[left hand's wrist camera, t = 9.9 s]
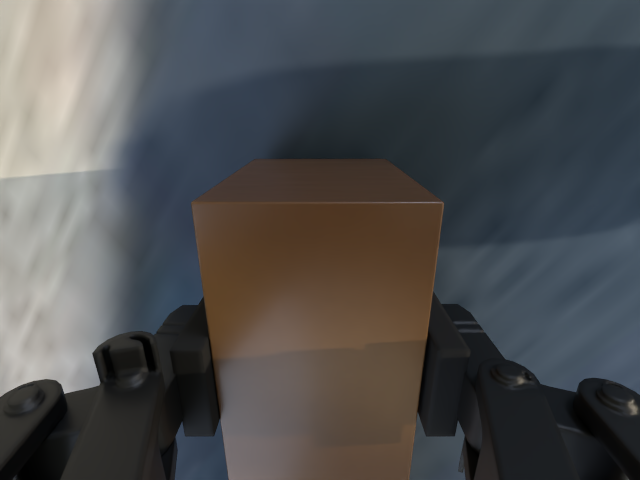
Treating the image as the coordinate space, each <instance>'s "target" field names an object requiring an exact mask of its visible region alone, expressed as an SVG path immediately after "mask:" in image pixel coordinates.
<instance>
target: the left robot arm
mask: <svg viewBox="0 0 640 480" xmlns="http://www.w3.org/2000/svg"><path fill="white" fill-rule="evenodd" d="M92 354H93V357H94V361H95V364H96V368H97V372H98V375H99V379H100V382H101V383H100V385H99V386H96V387H93V388H89V389H84V390H80V391H75V392H71V393H66V394H64V392H63V389H62V386H61V384H60V383H58V382H57V381H56V380H48V379H45V380H38V381H33V382H30V383H27V384H23V385H21V386H18V387H17V388H15V389H13V390H11V391H9V392H7V393H5V394H4V395H3V396H1V397H0V480H174V479H175V470H176V460H177V451H178V450H177V443H176V438H175V436H176V434H177V431H178V429H179V427H180V425H181V422H183V427H184V433H185V436H214V435H215V432H216V429H217V425H218V422H219V419H220V413H219V405H218V398H217V391H216V383H215V376H214V369H213V361H212V354H211V346H210V339H209V332H208V324H207V317H206V310H205V302H204V297H203V298H202V300H201V301H200V303H199V305H182V306H181V307H179V308H178V309H176V310H175V311H173V312H172V313H170V315H169V316H168V317H167V319H166V320H165V321H164V323H163V325H161V327H160V328H159V329H158V331H157V334H155V335H154V336H153V335H152V334H151V333H148V332H143V331H136V332H128V333H124V334H120V335H117V336H115V337H113V338H111V339H108V340H107V341H105V342H104V343H102V344H101V345H99V346H98V347H97V349H96V350H95V351H94V352H93V353H92ZM418 413H419V416H420V419H421V422H422V426H423V429H424V432H425V435H426V436H455V433H456V427H457V422H458V421H459V423H460V425H461V427H462V430H463V432H464V434H465V438H464V443H463V448H462V453H461V458H460V463H459V469H458V471H459V472H463V469H465V478H466V480H640V395H639V394H637V393H636V392H635V391H633V390H631V389H629V388H627V387H625V386H623V385H621V384H618V383H616V382H613V381H609V380H606V379H599V378H588V379H584V380H583V381H581V382H580V383H579V386H578V389H577V392H572V391H567V390H563V389H558V388H554V387H549V386H545V385H542V384H540V382H539V381H538V379H537V378H536V377H535V375H534V374H533V373H532V372H530V371H529V370H528V369H527V368H525V367H523V366H521V365H519V364H517V363H515V362H513V361H509V360H506V359H504V357H503V356H502V355H501V353H500V352H499V351H498V349H497V348H496V347H495V345H494V344H493V343H492V341H491V340H490V339H489V337H488V336H487V335H486V333H484V332H483V329H482V328H481V327H480V325H479V324H477V321H476V320H475V318H474V317H473V316H472V314H471V313H470V312H468V311H467V310H466V309H464V308H463V307H461V306H460V305H458V304H441V303H440V301H439V300H438V298H437V297H436V295H435V294H434V292H433V295H432V302H431V310H430V318H429V326H428V334H427V342H426V349H425V357H424V365H423V373H422V381H421V389H420V397H419V404H418Z"/></svg>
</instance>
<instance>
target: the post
mask: <svg viewBox="0 0 640 480" xmlns="http://www.w3.org/2000/svg"><path fill="white" fill-rule="evenodd" d="M191 206H192V214H193V221H194V229H195V236H196V243H197V251H198V258H199V265H200V273H201V280H202V288H203V295H204V302H205V310H206V317H207V324H208V332H209V339H210V346H211V354H212V361H213V369H214V376H215V383H216V391H217V398H218V405H219V413H220V420H221V427H222V435H223V442H224V450H225V457H226V464H227V472H228V479H229V480H409V475H410V467H411V459H412V451H413V444H414V436H415V428H416V420H417V412H418V404H419V397H420V389H421V381H422V373H423V365H424V357H425V349H426V342H427V334H428V326H429V318H430V310H431V302H432V295H433V287H434V279H435V271H436V263H437V255H438V248H439V240H440V232H441V224H442V216H443V208H444V202H443V201H441V200H440V199H439V198H437V197H436V196H435V195H433V194H432V193H431V192H429V191H428V190H427V189H425V188H424V187H423V186H421V185H420V184H419V183H417V182H416V181H415V180H413V179H412V178H411V177H409V176H408V175H407V174H405V173H404V172H403V171H401V170H400V169H399V168H397V167H396V166H395V165H393V164H392V163H391V162H389V161H388V160H386V159H254V160H253V161H251V162H250V163H248V164H247V165H245V166H244V167H242V168H241V169H239V170H238V171H237V172H235V173H234V174H232V175H231V176H229V177H228V178H226V179H225V180H223V181H222V182H220V183H219V184H217V185H216V186H214V187H213V188H212V189H210V190H209V191H207V192H206V193H204V194H203V195H201V196H200V197H198V198H197V199H195V200H194V201H192V203H191Z"/></svg>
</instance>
